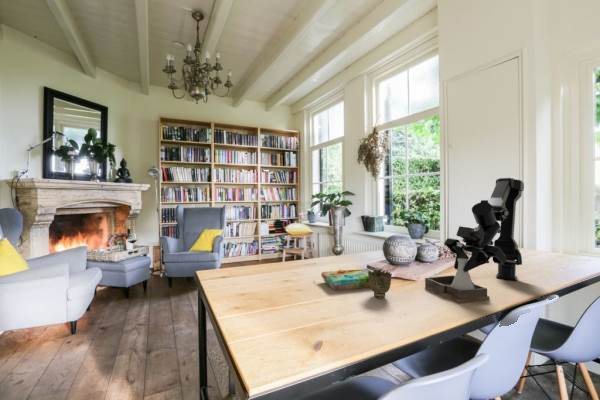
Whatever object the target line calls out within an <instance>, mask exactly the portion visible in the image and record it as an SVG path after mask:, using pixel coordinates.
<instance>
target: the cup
mask: <svg viewBox="0 0 600 400" xmlns="http://www.w3.org/2000/svg"><path fill="white" fill-rule="evenodd" d="M372 271H373V272H372V273H371V271H369V272H368V276H369V284H370V287H369V288H370V290H371V291H372V292H373V296H374V297H375V298H377V299H384V298H385V297H386V293H388V292H389V291H390V287H391V284H392V283H391V281H392V275H393V273H392V272H390V271H387V270H386V271H385V270H381V269H377V270H376V269H373V270H372Z"/></svg>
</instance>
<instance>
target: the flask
mask: <svg viewBox="0 0 600 400" xmlns="http://www.w3.org/2000/svg"><path fill="white" fill-rule="evenodd" d="M457 260H458V269H456V272H455V275H454V276H455V277H454V280H453V282H452V284H451V287H454V288H456V289H458V290H461V291H464V290H473V289H475V288H474V285H473V283H474V282H473V280H472V277H471V275H470V273H469V271H467V272H464V271H463V269H464V267H465V265H466V263H467V262H468V260H469V259H463V258H458V259H457ZM472 282H473V283H472Z"/></svg>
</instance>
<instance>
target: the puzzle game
mask: <svg viewBox="0 0 600 400" xmlns="http://www.w3.org/2000/svg"><path fill="white" fill-rule="evenodd" d="M369 271H371V273H372V272H373V271H374V270H371V269H369V268H362V269H361V268H359V269H357V268H356V269H345V270H343V269H339V270H333V271H332V270H331V271H322V272H321V278H322V279H323V281H324V283H325V284H326V285H328V286H329V288H331V289H333V290H334V291H342V290H352V289H360V288H361V289H363V288H370V284H369V276H368V272H369Z"/></svg>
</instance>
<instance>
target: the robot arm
mask: <svg viewBox="0 0 600 400" xmlns="http://www.w3.org/2000/svg"><path fill="white" fill-rule="evenodd" d="M524 190H525V183H524V182H523V180H520V179H515V178H513V177H499V178H496V180H495V186H494V188H493V191H492V193H491V196H490V198H489V199H488V200H487V199H484V200H483V199H481V200H480V202H478V203H475V204H474V205H473V206H472V207H471V212H472V215H473V217H474V220H475V223H476V224H477V225H478V226H475V227H474V228H473V227H467V226H459V225H458V229H457V232H456V234H455V236H457V237H459V238H461V239H462V242H460V240H459V239H457V238H451V237H449V238H447V239H446V240H445V241H444V245H445V246H446V247H447V248H448V250H449V251H450V252H451V253H452V254H455V261H454V266H453V268H454V269H455V270H457V269H458V260H457V259H458V258H463V259H468V262H467V263H466V265H465V267H464V269H463V271H464V272H467V271H468V272H469V271H471V270H473V269H475V268H477V267H479V266H482V265H485V264H490V259H492V262H493V263H494V264H497V273H496V276H495V277H496V279H502V280H508V281H513V282H514V281H515V282H516V281H518V279H517V277H518V276H517V275H516V274H517V272H516V268H517V266H519V265H520V266H522V265H523V258H522V253H521V252H520V249H519V244H518V243H517V242H516V240H515V238H514V237H515V224H516V221H515V220H516V207H517V202H518V201H519V200H520V198H521V197H522V193H523V192H524ZM499 222H500V223H499ZM497 234H499V237H498V238H497V239H495V240H494V238H495V237H496V235H497ZM493 240H494V241H493ZM464 243H465V244H464ZM468 253H471V255H470V257H469V255H468Z"/></svg>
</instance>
